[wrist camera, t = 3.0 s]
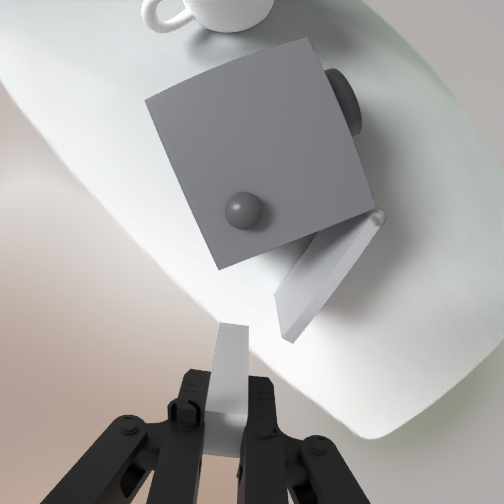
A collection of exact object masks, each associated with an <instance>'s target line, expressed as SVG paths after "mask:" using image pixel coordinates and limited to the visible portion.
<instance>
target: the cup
mask: <svg viewBox="0 0 504 504" xmlns="http://www.w3.org/2000/svg"><path fill="white" fill-rule="evenodd" d="M160 1H161V0H144V1H143V4H142V17H143V20H144V22H145V24H146V26H147V27H148V28H149V29H150V30H152V31H154V32H156V33H168V32H171V31H174V30H177V29H179V28H181V27H182V26H184V25H186V24H188V23H189V22H191V21H192V20H194V21H195V22H197V23H198V24H199V25H201V26H203V27H205V28H207V29H209V30H213V31H217V32H238V31H242V30H246V29H248V28H251V27H253V26H255V25H257V24H258V23H260V22H261V21H262V20H263V19H264V18H265V17H266V16H267V15H268V14H269V12H270V10H271V8H272V6H273V3H274V0H183V2H184V5H185V7H186V9H185V10H184V11H183V12H182V13H180V14H179V15H177V16H176V17H174V18H173V19H171V20H169V21H166V22H161V21H160V20H159V19H158V18H157V15H156V7H157V5H158V4H159V2H160Z"/></svg>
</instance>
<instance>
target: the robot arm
mask: <svg viewBox="0 0 504 504" xmlns="http://www.w3.org/2000/svg"><path fill="white" fill-rule="evenodd" d="M248 339H249V326H244V325H236V324H227V323H220V326H219V331H218V337H217V342H216V349H215V354H214V360H213V365H212V371H211V372H208V371H201V370H195V369H190V370H189V371H188V372H187V373H186V374H185V375H184V377H183V381H182V384H181V388H180V391H179V395H178V398H176V399H174V400H172V401H171V402H170V403H169V405H168V419H167V420H166V421H163V422H160V423H145V422H144V421H143V420H142V419H141V418H139V417H137V416H134V415H123V416H120V417H118V418H116V419H115V420H114V421H113V422H112V423H111V424H110V425H109V426H108V428H107V429H106V430H105V431H104V432H103V433H102V435H101V436H100V437H99V438H98V439H97V440H96V441H95V442H94V443H93V445H92V446H91V447H90V448H89V449H88V450H87V451H86V452H85V454H84V455H83V456H82V457H81V458H80V459H79V460H78V462H77V463H76V464H75V465H74V466H73V467H72V468H71V470H70V471H69V472H68V473H67V474H66V475H65V476H64V477H63V478H62V480H61V481H60V482H59V483H58V484H57V485H56V486H55V488H54V489H53V490H52V491H51V492H50V493H49V494H48V495H47V496H46V498H45V499H44V500H43V501H42V502H41V503H40V504H130V503H131V502H132V500H133V499H134V497H135V496H136V494H137V493H138V491H139V489H140V488H141V486H142V485H143V483H144V482H145V480H146V479H147V477H148V476H149V474H150V473H151V470H155V471H154V476H153V479H152V483H151V487H150V491H149V495H148V498H147V502H146V504H196V503H197V496H198V488H199V480H200V473H201V465H202V454H208V455H216V456H225V457H235V458H239V457H240V463H239V468H238V473H237V478H238V492H237V504H289V503H288V493H287V488H288V490H289V493H290V495H291V497H292V500H293V502H294V504H370V502H369V500H368V499H367V497H366V495H365V494H364V492H363V490H362V489H361V487H360V486H359V484H358V482H357V481H356V479H355V477H354V476H353V474H352V472H351V471H350V469H349V468H348V466H347V464H346V463H345V461H344V459H343V458H342V456H341V454H340V453H339V451H338V450H337V448H336V446H335V444H334V443H333V442H332V441H331V440H330V439H328V438H326V437H324V436H319V435H313V436H310V437H307V438H305V439H304V440H303V441H302V440H298V439H295V438H292V437H289V436H287V435H286V434H284V433H283V432H282V431H281V430H280V429H279V427H278V424H277V416H276V406H275V396H274V386H273V384H272V382H271V381H270V379H269V378H268V377H257V376H248Z"/></svg>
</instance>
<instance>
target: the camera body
mask: <svg viewBox="0 0 504 504" xmlns="http://www.w3.org/2000/svg"><path fill="white" fill-rule="evenodd" d="M145 103H146V105H147V108H148V110H149V113H150V115H151V118H152V120H153V122H154V125H155V127H156V130H157V132H158V135H159V137H160V139H161V142H162V144H163V146H164V149H165V151H166V154H167V156H168V158H169V161H170V163H171V165H172V168H173V170H174V172H175V174H176V177H177V179H178V181H179V184H180V186H181V188H182V191H183V193H184V195H185V197H186V200H187V202H188V204H189V206H190V209H191V211H192V213H193V215H194V218H195V220H196V222H197V224H198V226H199V229H200V231H201V233H202V235H203V237H204V240H205V242H206V244H207V246H208V248H209V250H210V253H211V255H212V257H213V259H214V261H215V263H216V266H217V268H218V270H221V269H224V268H226V267H229V266H231V265H234V264H236V263H239V262H241V261H244V260H246V259H249V258H251V257H254V256H257V255H259V254H262V253H264V252H267V251H269V250H272V249H274V248H277V247H279V246H282V245H284V244H287V243H289V242H292V241H294V240H297V239H299V238H302V237H304V236H307V235H309V234H312V233H315V232H317V231H320V230H322V229H325V228H327V227H330V226H332V225H335V224H337V223H340V222H342V221H345V220H347V219H350V218H352V217H355V216H357V215H360V214H362V213H365V212H367V211H370V210H372V209H375V208H376V206H375V203H374V200H373V196H372V193H371V190H370V187H369V184H368V181H367V178H366V175H365V172H364V169H363V166H362V163H361V160H360V158H359V155H358V152H357V149H356V146H355V144H354V141H353V138H352V136H354V135H357V134H359V133H360V131H361V126H362V120H361V113H360V108H359V104H358V101H357V99H356V96H355V94H354V92H353V89H352V88H351V86H350V84H349V82H348V81H347V79H346V78H345V77H344V76H343V74H342V73H341V72H339V71H338V70H337V69H334V68H331V69H327V70H323V68H322V66H321V63H320V61H319V59H318V57H317V55H316V53H315V51H314V49H313V47H312V45H311V43H310V41H309V39H308V37H305V38H302V39H298V40H294V41H291V42H287V43H284V44H280V45H277V46H274V47H271V48H268V49H265V50H261V51H258V52H256V53H253V54H250V55H247V56H244V57H241V58H239V59H236V60H233V61H231V62H228V63H225V64H223V65H220V66H218V67H215V68H213V69H210V70H208V71H206V72H203V73H201V74H199V75H196V76H194V77H192V78H189V79H187V80H185V81H183V82H181V83H179V84H176V85H174V86H172V87H170V88H168V89H166V90H164V91H162V92H160V93H158V94H156V95H154V96H152V97H150V98H148V99H146V100H145Z"/></svg>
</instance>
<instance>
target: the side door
mask: <svg viewBox="0 0 504 504" xmlns="http://www.w3.org/2000/svg"><path fill="white" fill-rule="evenodd" d="M385 220H386V214H385V212H384V211H383V210H381V209H379V208H377V207H376V208H375V209H372V210H370V211H367V212H365V213H362V214H360V215H357V216H355V217H352V218H350V219H347V220H345V221H342V222H340V223H337V224H335V225H332V226H330V227H327V228H325V229H322V230H320V231H318V233H317V234H316V236H315V237H314V239H313V240H312V242H311V243H310V244H309V246H308V247H307V249H306V250H305V252H304V253H303V254H302V256H301V257H300V259H299V260H298V262H297V263H296V264H295V266H294V267H293V269H292V270H291V271H290V273H289V274H288V276H287V277H286V278H285V280H284V281H283V283H282V284H281V285H280V287H279V288H278V290H277V291H276V292H275V294H274V296H275V301H276V307H277V312H278V318H279V324H280V329H281V335H282V338H283V339H285V340H287V341H289V342H291V343H294V342H295V340H296V339H297V338H298V337H299V335H300V334H301V333H302V332H303V331H304V329H305V328H306V327H307V326H308V324H309V323H310V322H311V321H312V319H313V318H314V317H315V315H316V314H317V313H318V312H319V310H320V309H321V308H322V306H323V305H324V304H325V303H326V301H327V300H328V299H329V297H330V296H331V295H332V293H333V292H334V291H335V289H336V288H337V287H338V285H339V284H340V283H341V281H342V280H343V279H344V277H345V276H346V275H347V273H348V272H349V270H350V269H351V268H352V266H353V265H354V263H355V262H356V261H357V259H358V258H359V256H360V255H361V254H362V252H363V251H364V249H365V248H366V247H367V245H368V244H369V242H370V241H371V239H372V238H373V236H374V235H375V233H376V232H377V230H378V229H379V228H380V226H381V225H383V224H384V222H385Z"/></svg>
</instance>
